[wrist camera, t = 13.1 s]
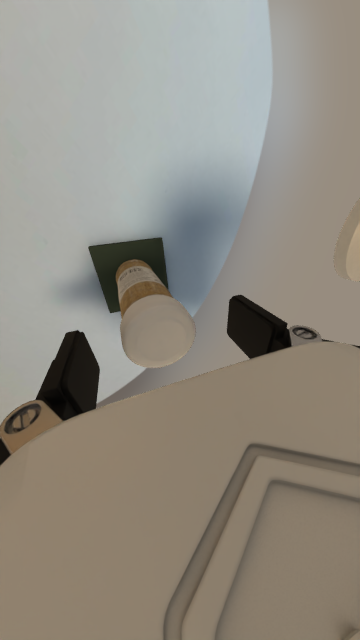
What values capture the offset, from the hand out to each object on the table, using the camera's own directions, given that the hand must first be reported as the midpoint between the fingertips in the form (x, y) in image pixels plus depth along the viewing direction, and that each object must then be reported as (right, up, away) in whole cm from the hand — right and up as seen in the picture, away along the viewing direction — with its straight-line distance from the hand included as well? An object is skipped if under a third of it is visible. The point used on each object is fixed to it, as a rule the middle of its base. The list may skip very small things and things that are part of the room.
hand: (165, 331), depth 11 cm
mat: (-5, +6, +11) cm, 13 cm away
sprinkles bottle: (-5, +6, +10) cm, 13 cm away
